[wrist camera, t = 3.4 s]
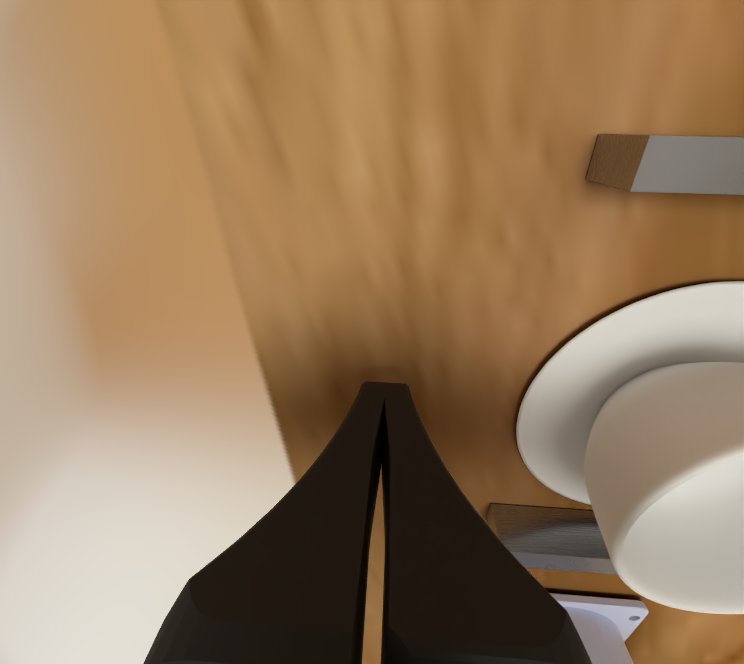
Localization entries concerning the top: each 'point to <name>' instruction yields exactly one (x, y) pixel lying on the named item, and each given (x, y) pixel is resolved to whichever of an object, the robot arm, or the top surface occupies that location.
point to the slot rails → (635, 174)
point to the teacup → (653, 441)
